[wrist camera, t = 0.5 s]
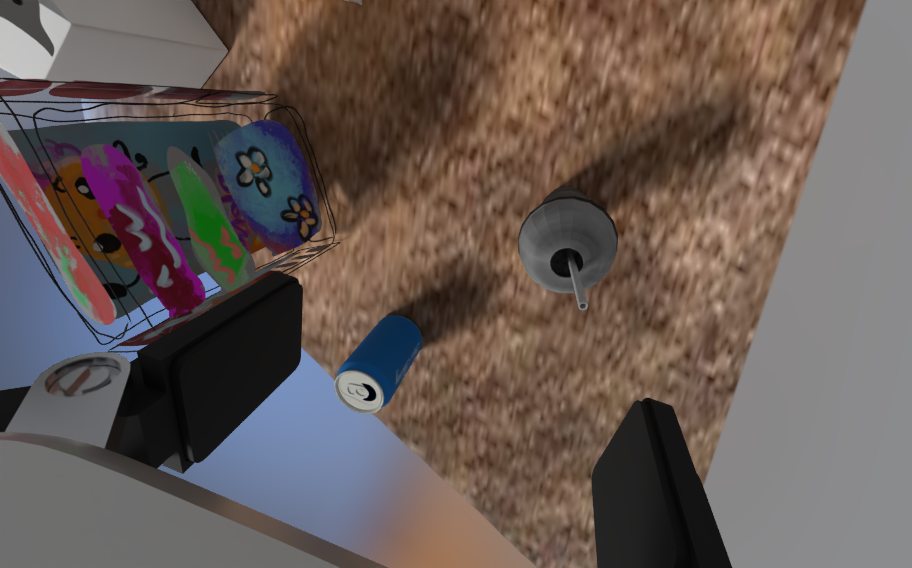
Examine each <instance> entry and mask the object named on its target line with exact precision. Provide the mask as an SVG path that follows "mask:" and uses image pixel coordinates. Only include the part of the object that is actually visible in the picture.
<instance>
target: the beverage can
mask: <svg viewBox="0 0 912 568" xmlns="http://www.w3.org/2000/svg"><path fill="white" fill-rule="evenodd" d="M421 347H422V335H421V332H420V330H419V329H418V327H417V326H416V325H415V324H414V323H413V322H412V321H411V320H409V319H407V318H405V317H403V316H399V315H390V316H387V317H385V318H383V319H382V320H381V321H380V322H379V323H378V324H377V325H376V326H375V327H374V329H373V330H372V331H371V332H370V333H369V334H368V336H367V337H366V338H365V339H364V340H363V341H362V343H361V344H360V345H359V346H358V347H357V348H356V349H355V351H354V352H353V353H352V354H351V355H350V356H349V358H348V359H347V360H346V361H345V362H344V363H343V365H342V366H341V367H340V368H339V371H338V374H337V378H336V380H335V392H336V394H337V396H338V398H339V399H340V401H341V402H342V403H343V404H345V406H347V407H348V408H350V409H351V410H353V411H355V412H359V413H363V414H371V413H374V412H377V411H378V410H379V409H380V408H382V407H384V406H385V405H386V404H388V402H389V401H390V400H391V398H392V396H393V395H394V393H395V391H396V389H397V388H398V386H399V384H400V383H401V381H402V379H403V378H404V376H405V374H406V373H407V371H408V369H409V368H410V366H411V364H412V363H413V361H414V359H415V357H416V356H417V354H418V352H419V351H420V349H421Z"/></svg>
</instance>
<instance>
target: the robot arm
mask: <svg viewBox="0 0 912 568" xmlns="http://www.w3.org/2000/svg"><path fill="white" fill-rule="evenodd" d="M302 301H303V287H302V285H300V284H299V281H298V279H297V278H296V277H293V276H290V275H287V274H284V273H281V272H274V273H272V274H270V275H268V276H266V277H265V278H263V279H261V280H260V281H258V282H256V283H254V284H253V285H251V286H249V287H247V288H246V289H244V290H242V291H241V292H239V293H237V294H235V295H234V296H232V297H230V298H228V299H227V300H225V301H223V302H222V303H220V304H218V305H216V306H215V307H213V308H211V309H209V310H208V311H206V312H204V313H203V314H201V315H199V316H197V317H196V318H194V319H192V320H190V321H189V322H187V323H185V324H184V325H182V326H180V327H178V328H177V329H175V330H173V331H171V332H170V333H168V334H166V335H165V336H163V337H161V338H159V339H158V340H156V341H154V342H152V343H151V344H149V345H147V346H146V347H144V348H142V349H140V350H139V351H137V354H138V358H136V359H135V360H133V361H131V362H129V361H128V360H127V358H125V357H123V356H121V355H119V354H115V353H109V352H98V353H97V352H95V353H89V354H82V355H78V356H75V357H72V358H68V359H66V360H63V361H61V362H59V363H57V364H54V365H52V366H51V367H50V368H48V369H47V370H45V371H44V372H42V373H41V374H40V376H39V377H38V378H37V379H36V380H35V381H34V383H33V385H32V386H27V387H20V388H14V389H8V390H1V391H0V568H387V567H385V566H383V565H381V564H378V563H376V562H374V561H371V560H369V559H367V558H364V557H362V556H360V555H358V554H355V553H353V552H351V551H349V550H346V549H344V548H342V547H339V546H337V545H335V544H332V543H330V542H328V541H325V540H323V539H321V538H319V537H316V536H314V535H312V534H309V533H307V532H305V531H302V530H300V529H297V528H295V527H293V526H291V525H289V524H286V523H284V522H282V521H279V520H277V519H274V518H272V517H270V516H268V515H265V514H263V513H260V512H258V511H256V510H253V509H251V508H249V507H246V506H244V505H242V504H239V503H237V502H235V501H232V500H230V499H228V498H225V497H223V496H221V495H218V494H216V493H213V492H211V491H209V490H207V489H204V488H202V487H200V486H197V485H195V484H193V483H190V482H187V481H186V480H183V479H180V478H178V477H176V476H173V475H171V474H168V473H166V472H163V471H161V470H158V469H157V468H158V467H159V466H160V465H161V464H163V466H166V467H168V468H170V469H173V470H175V471H177V472H180V473H182V474H183V473H184V472H185V471H186V470H187V469H188V468H189V467H190V466H191V465H192V464H193V463H195V462H196V463H199V462H201V461H203V460H204V459H205V458H206V457H207V456H208V455H210V453H211V452H213V450H215V449H216V448H217V447H218V446H219V445H220V444H221V443H222V442H223V441H224V439H226V438H227V437H228V436H229V434H231V433H232V432H233V431H234V430H235V429H236V428H237V427H238V426H239V425H240V424H241V423H242V421H244V420H245V419H246V418H247V417H248V416H249V415H250V414H251V413H252V412H253V411H254V410H255V409H256V408H257V407H258V406H259V405H260V404H261V403H262V402H263V401H264V400H265V399H266V398H267V397H268V396H269V395H270V394H271V393H272V392H273V391H274V390H275V389H276V388H277V387H278V386H279V385H280V384H281V383H282V382H283V381H285V380H286V379H287V378H288V377H289V376H290V375H291V374H292V373H293V372H294V371H295V369H296V368H297V367H298V365H299V363H300V359H301V334H302ZM592 495H593V509H594V524H595V538H596V552H597V567H598V568H732V566H731V563H730V561H729V557H728V555H727V552H726V549H725V546H724V544H723V541H722V538H721V535H720V533H719V530H718V527H717V524H716V521H715V518H714V516H713V513H712V510H711V507H710V505H709V502H708V499H707V496H706V493H705V491H704V488H703V485H702V482H701V480H700V478H699V476H698V474H697V473H696V471H695V468H694V465H693V462H692V459H691V456H690V454H689V451H688V448H687V445H686V442H685V440H684V437H683V434H682V431H681V428H680V425H679V423H678V420H677V417H676V414H675V411H674V409H673V407H672V406H670V405H668V404H665V403H662V402H659V401H656V400H654V399H651V398H645V399H643V401H642V402H641V401H639V400H637V401H635V402H634V403H633V405H632V407H631V408H630V410H629V411H628V413H627V415H626V416H625V418H624V420H623V421H622V423H621V425H620V426H619V428H618V429H617V431H616V433H615V434H614V436H613V438H612V439H611V441H610V443H609V444H608V446H607V447H606V449H605V451H604V452H603V454H602V456H601V457H600V459H599V461H598V462H597V464H596V465H595V467H594V470H593V473H592Z"/></svg>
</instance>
